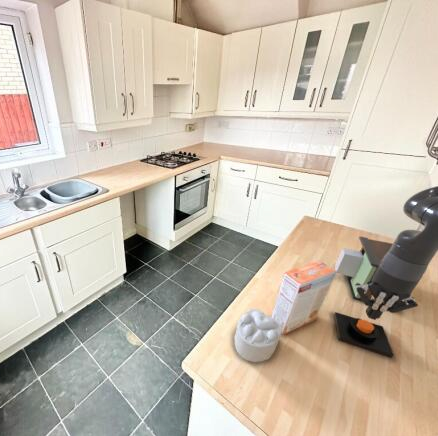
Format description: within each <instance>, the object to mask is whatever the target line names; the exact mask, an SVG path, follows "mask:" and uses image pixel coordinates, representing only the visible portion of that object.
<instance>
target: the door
mask: <svg viewBox="0 0 438 436" xmlns="http://www.w3.org/2000/svg"><path fill="white" fill-rule="evenodd" d="M376 269H377V267H374V266H371V264H370V262H369V260H368V258H367V255H366V253H365V254H364V256H363V255H362V253H361V252H360V250H359V251H358V250H354V249H350V248H345V247H342V249H341V252H340V254H339V256H338V258H337V259H336V262H335V264H334V270H336V271H337V272H336V274H340V275H342V276H343V275H344V276H346V275H347V276H351V277H352V279H351V284H352V287H353V290H354V293H355V297H356V298H360V295H359V293H358V292H357V289H356V286H355V284H356V283H359V284H361V285H364V284H367V282H368V281H370V279H371V278H372V276H373V274H374V272H375V271H376Z"/></svg>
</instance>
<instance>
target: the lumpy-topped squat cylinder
mask: <svg viewBox="0 0 438 436" xmlns="http://www.w3.org/2000/svg"><path fill="white" fill-rule="evenodd" d="M282 334H283V333H282V327H281V325H280V323H279V322H278V321H277V320H275V319H273V318H271V316H269V315H267V314H266V313H265V312H264V311H262V310H261V309H258V308H251V309H248V310H247V311H246V312H245V313H244V314H242V316H241V317H240V318H239V320H238V322H237V326H236V330H235V334H234V347H235V349H236V352H237V353H238V355H239V356H240V357H241V358H242V359H244V360H246V361H248V362H252V363H261V362H265V361H267V360H269V359H270V358H271V357H272V356H273V355H274V352H275V351H276V348H277V346H278V343H279V341H280V339H281V336H282Z"/></svg>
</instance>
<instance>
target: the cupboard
mask: <svg viewBox="0 0 438 436" xmlns="http://www.w3.org/2000/svg"><path fill="white" fill-rule="evenodd" d="M358 239H359V241H360V244H361V248H360V250H359V252H361V253H362V255H363V256H364V254H365V253H366V255H367V258H368V260H369V262H370V264H371V266H374V267H377V268H378V267H379V265H380V262H381V260H382V259H383V258H384V256H385V255H386V253H387V252H388V251H389V250H390V248H391V246H392V244H393V243H392V242H387V241H381V240H375V239H371V238H369V237H364V236H359V237H358ZM376 270H377V269H376ZM375 272H376V271H375ZM375 272H374V274H375ZM374 274H373V276H374ZM373 276H372V278H373ZM423 276H424V275H423ZM423 276H422V277H421V279H423ZM345 277H346V280H347V282H348V287H349V290H350V294H351V297H352V300H354V301H359V302H362V303H364V302H363V300H362V299H361V297H360V298H356V297H355V293H354V290H353V287H352V284H351V279H352V277H351V276H347V275H345ZM372 278H371V279H372ZM371 279H370V280H371ZM421 279H420V280H419V282H420V281H421ZM419 282H418V283H417V285H418V284H419ZM417 285H416V286H415V287H414V289H413V290H412V292H413V291H414V290H415V288H416V287H417ZM412 292H410V294H411V295H412ZM366 295H367V296H368V298H369V299H370V300H371V298H372V294H371V292H370V290H369V289H367V293H366ZM395 307H396V306H395Z"/></svg>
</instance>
